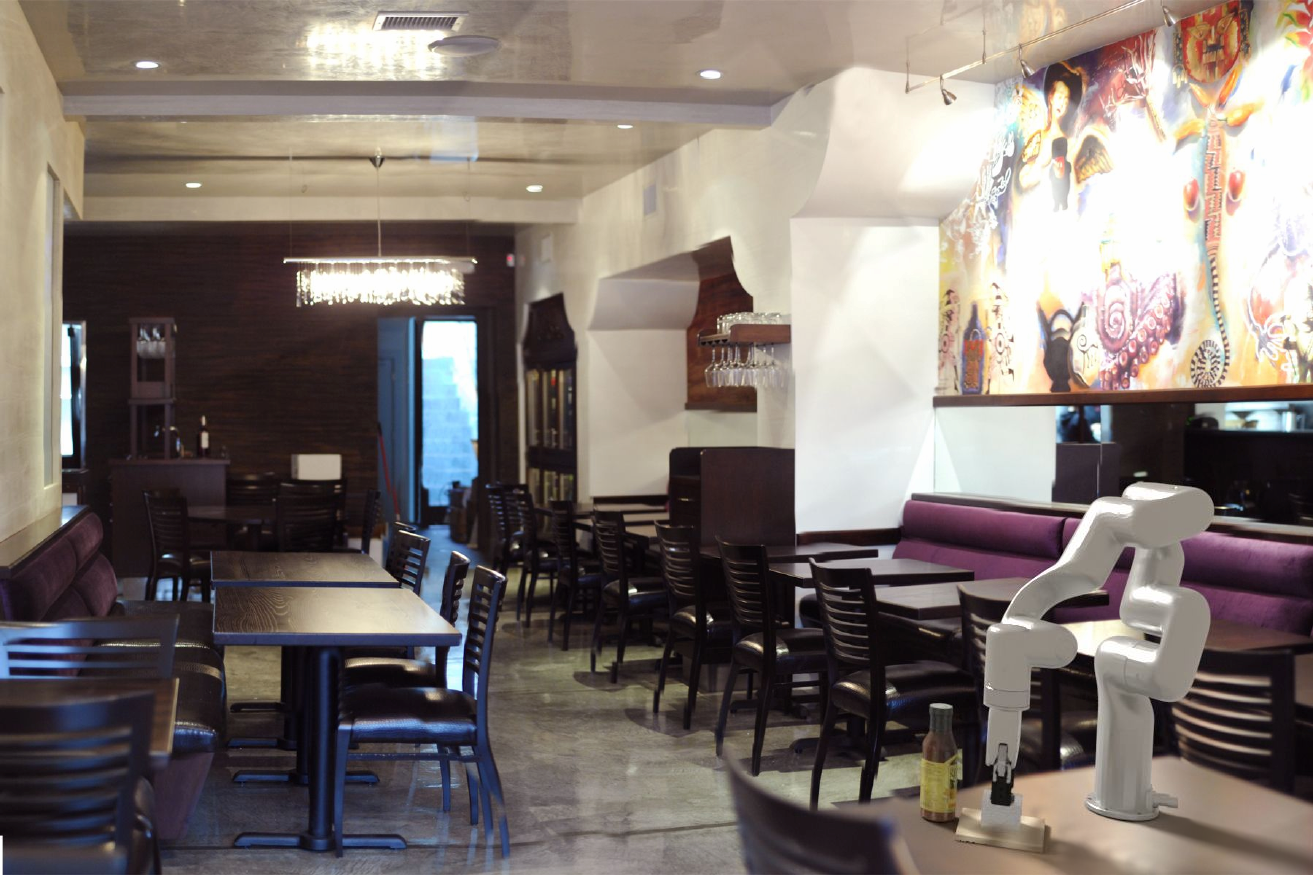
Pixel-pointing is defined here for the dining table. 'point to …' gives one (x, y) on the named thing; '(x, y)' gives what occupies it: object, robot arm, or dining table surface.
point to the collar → (1001, 815)
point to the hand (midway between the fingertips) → (1002, 795)
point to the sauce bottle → (939, 767)
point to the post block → (1027, 839)
